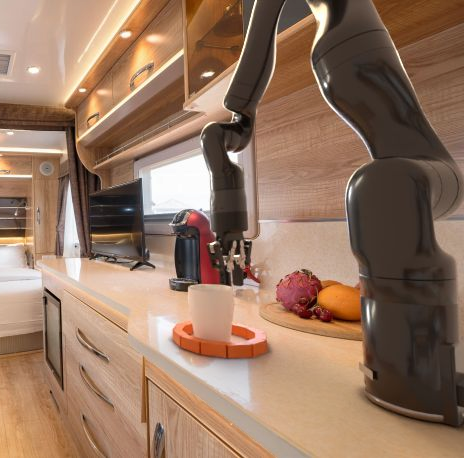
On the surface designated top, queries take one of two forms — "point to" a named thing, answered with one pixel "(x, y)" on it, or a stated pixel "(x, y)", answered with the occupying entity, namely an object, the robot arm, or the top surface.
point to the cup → (211, 311)
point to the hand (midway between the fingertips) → (232, 286)
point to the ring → (222, 349)
